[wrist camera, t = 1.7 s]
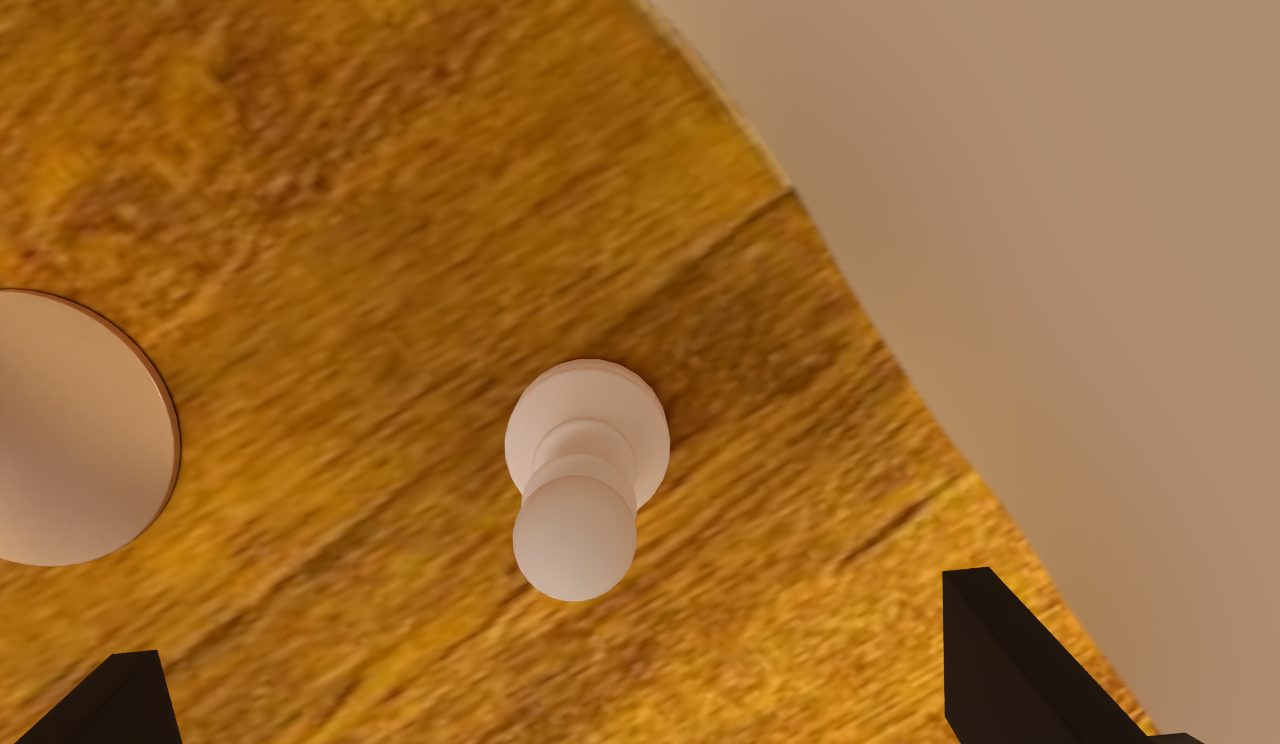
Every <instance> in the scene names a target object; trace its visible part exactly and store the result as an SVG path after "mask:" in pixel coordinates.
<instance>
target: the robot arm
mask: <svg viewBox="0 0 1280 744" xmlns="http://www.w3.org/2000/svg"><path fill="white" fill-rule="evenodd" d="M942 580H943V639H944V697H945V718H946V719H947V721H948V723H949V724H950V726H951V728H952V729H953V731H954V733H955V734H956V736H957V738H958V740H959V741H960V743H961V744H1204V743H1202V742H1200V741H1199V740H1197V739H1195V738H1194V737H1192V736H1190V735H1188V734H1187V733H1178V734H1177V733H1176V734H1166V735H1156V736H1147V735H1146V734H1145V733H1144V732H1143V731H1142V730H1141V729H1140V728H1139V727H1138V726H1137V725H1136V724H1135V723H1134V721H1133V720H1132V719H1131V718H1130V717H1129V716H1128V715H1127V714H1126V713H1125V712H1124V711H1123V710H1122V709H1121V708H1120V707H1119V705H1118V704H1117V703H1116V702H1115V701H1114V700H1113V699H1112V698H1111V697H1110V696H1109V695H1108V694H1107V693H1106V692H1105V691H1104V689H1103V688H1102V687H1101V686H1100V685H1099V684H1098V683H1097V682H1096V681H1095V680H1094V679H1093V678H1092V677H1091V676H1090V675H1089V673H1088V672H1087V671H1086V670H1085V669H1084V668H1083V667H1082V666H1081V665H1080V664H1079V663H1078V662H1077V661H1076V660H1075V658H1074V657H1073V656H1072V655H1071V654H1070V653H1069V652H1068V651H1067V650H1066V649H1065V648H1064V647H1063V646H1062V645H1061V644H1060V642H1059V641H1058V640H1057V639H1056V638H1055V637H1054V636H1053V635H1052V634H1051V633H1050V632H1049V631H1048V630H1047V629H1046V628H1045V626H1044V625H1043V624H1042V623H1041V622H1040V621H1039V620H1038V619H1037V618H1036V617H1035V616H1034V615H1033V614H1032V613H1031V611H1030V610H1029V609H1028V608H1027V607H1026V606H1025V605H1024V604H1023V603H1022V602H1021V601H1020V600H1019V599H1018V598H1017V597H1016V595H1015V594H1014V593H1013V592H1012V591H1011V590H1010V589H1009V588H1008V587H1007V586H1006V585H1005V584H1004V583H1003V582H1002V581H1001V579H1000V578H999V577H998V576H997V575H996V574H995V573H994V572H993V571H992V570H991V569H990V568H989V567H981V568H971V569H961V570H951V571H942ZM14 744H182V740H181V737H180V733H179V729H178V726H177V722H176V718H175V714H174V711H173V707H172V703H171V699H170V696H169V692H168V688H167V684H166V681H165V677H164V673H163V669H162V666H161V662H160V658H159V654H158V651H157V650H149V651H139V652H129V653H119V654H112V655H110V656H109V657H108V658H107V659H106V660H105V661H104V662H103V663H102V664H101V665H99V666H98V667H97V668H96V669H95V670H94V671H93V672H92V673H91V674H90V675H89V676H87V677H86V678H85V679H84V680H83V681H82V682H81V683H80V684H79V685H78V686H77V687H75V688H74V689H73V690H72V691H71V692H70V693H69V694H68V695H67V696H66V697H65V698H63V699H62V700H61V701H60V702H59V703H58V704H57V705H56V706H55V707H54V708H53V709H51V710H50V711H49V712H48V713H47V714H46V715H45V716H44V717H43V718H42V719H41V720H39V721H38V722H37V723H36V724H35V725H34V726H33V727H32V728H31V729H30V730H29V731H27V732H26V733H25V734H24V735H23V736H22V737H21V738H20V739H19V740H18V741H17V742H15V743H14Z"/></svg>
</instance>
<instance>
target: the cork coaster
mask: <svg viewBox="0 0 1280 744" xmlns="http://www.w3.org/2000/svg"><path fill="white" fill-rule="evenodd" d="M179 460H180V434H179V428H178V422H177V417H176V414H175V410H174V407H173V404H172V401H171V398H170V396H169V394H168V392H167V390H166V387H165V385H164V383H163V381H162V379H161V378H160V376H159V375H158V373H157V371H156V370H155V368H154V367H153V365H152V364H151V362H150V361H149V360H148V359H147V357H146V356H145V355H144V354H143V352H142V351H141V350H140V349H139V348H138V347H137V346H136V345H135V344H134V343H133V342H132V341H131V340H130V339H129V338H128V337H127V336H126V335H125V334H124V333H123V332H121V331H120V330H119V329H117V328H116V327H115V326H114V325H112V324H111V323H110V322H108V321H107V320H105V319H104V318H102V317H100V316H99V315H97V314H96V313H94V312H92V311H91V310H88V309H86V308H84V307H82V306H80V305H78V304H76V303H74V302H71V301H68V300H65V299H62V298H59V297H57V296H54V295H49V294H45V293H40V292H36V291H28V290H17V289H4V290H0V558H1V559H4V560H8V561H11V562H16V563H21V564H27V565H36V566H68V565H74V564H80V563H85V562H89V561H92V560H95V559H99V558H102V557H104V556H106V555H108V554H110V553H113V552H115V551H117V550H119V549H120V548H122V547H123V546H125V545H126V544H128V543H130V542H131V541H132V540H134V539H135V538H136V537H138V536H139V535H140V534H141V533H142V532H143V531H145V530H146V529H147V528H148V527H149V526H150V525H151V524H152V522H153V521H154V520H155V519H156V518H157V517H158V515H159V514H160V513H161V511H162V509H163V508H164V506H165V504H166V503H167V501H168V499H169V497H170V494H171V492H172V490H173V487H174V485H175V481H176V477H177V473H178V469H179Z"/></svg>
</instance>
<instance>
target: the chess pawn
mask: <svg viewBox="0 0 1280 744" xmlns="http://www.w3.org/2000/svg"><path fill="white" fill-rule="evenodd" d="M505 459H506V462H507V465H508V469H509V472H510V475H511V478H512V480H513V481H514V483H515V485H516V486H517V488H518V489H519V491H520V492H521V494H522V495H523V497H522V501H521V503H522V507H521V509H520V511H519V512H518V514H517V518H516V521H515V525H514V529H513V551H514V554H515V557H516V560H517V563H518V566H519V568H520V570H521V571H522V573H523V574H524V576H525V577H526V579H527V580H528V582H530V583H531V584H532V585H533V586H534V587H535V588H536V589H537V590H539V591H540V592H542V593H544V594H546V595H548V596H550V597H552V598H555V599H559V600H563V601H585V600H589V599H593V598H596V597H598V596H600V595H602V594H604V593H606V592H608V591H609V590H611V589H612V588H613V587H614V586H615V585H616V584H617V583H618V582H619V581H620V580H622V578H623V577H624V575H625V573H626V572H627V570H628V569H629V567H630V566H631V563H632V560H633V557H634V554H635V550H636V536H637V530H636V525H635V519H636V515H637V510H638V509H639V508H640V507H641V506H643V505H644V504H645V503H646V502H647V501H648V500H649V499H650V498H651V497H652V496H653V495H654V493H655V492H656V490H657V488H658V487H659V485H660V484H661V482H662V481H663V479H664V476H665V473H666V469H667V466H668V463H669V459H670V436H669V430H668V425H667V421H666V417H665V413H664V410H663V406H662V405H661V403H660V401H659V399H658V398H657V396H656V394H655V393H654V391H653V389H652V388H651V387H650V386H649V385H648V384H647V383H646V382H645V381H644V380H643V379H642V378H641V377H640V376H639V375H637V374H635V373H634V372H632V371H630V370H628V369H627V368H625V367H623V366H621V365H619V364H616V363H612V362H608V361H604V360H601V359H577V360H573V361H569V362H565V363H561V364H558V365H556V366H554V367H552V368H551V369H549V370H547V371H545V372H544V373H542V374H540V375H539V376H538V377H537V378H536V379H535V380H534V381H533V382H532V383H531V384H530V385H529V386H528V387H527V388H526V389H525V390H524V392H523V394H522V396H521V397H520V399H519V401H518V403H517V404H516V406H515V408H514V410H513V413H512V414H511V416H510V418H509V422H508V427H507V431H506V435H505Z"/></svg>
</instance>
